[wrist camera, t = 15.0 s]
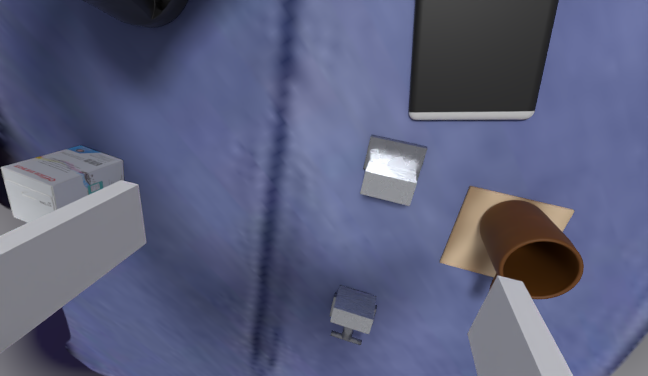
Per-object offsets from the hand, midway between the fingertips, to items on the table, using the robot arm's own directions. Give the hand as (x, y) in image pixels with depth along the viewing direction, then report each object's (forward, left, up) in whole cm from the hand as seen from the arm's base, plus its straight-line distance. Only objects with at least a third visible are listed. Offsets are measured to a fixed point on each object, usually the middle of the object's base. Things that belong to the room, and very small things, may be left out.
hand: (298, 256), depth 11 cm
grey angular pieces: (+4, -18, -30) cm, 35 cm away
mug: (+20, -12, -30) cm, 38 cm away
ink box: (-43, -19, -30) cm, 56 cm away
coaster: (+20, -12, -30) cm, 38 cm away
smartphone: (+8, +15, -31) cm, 35 cm away
